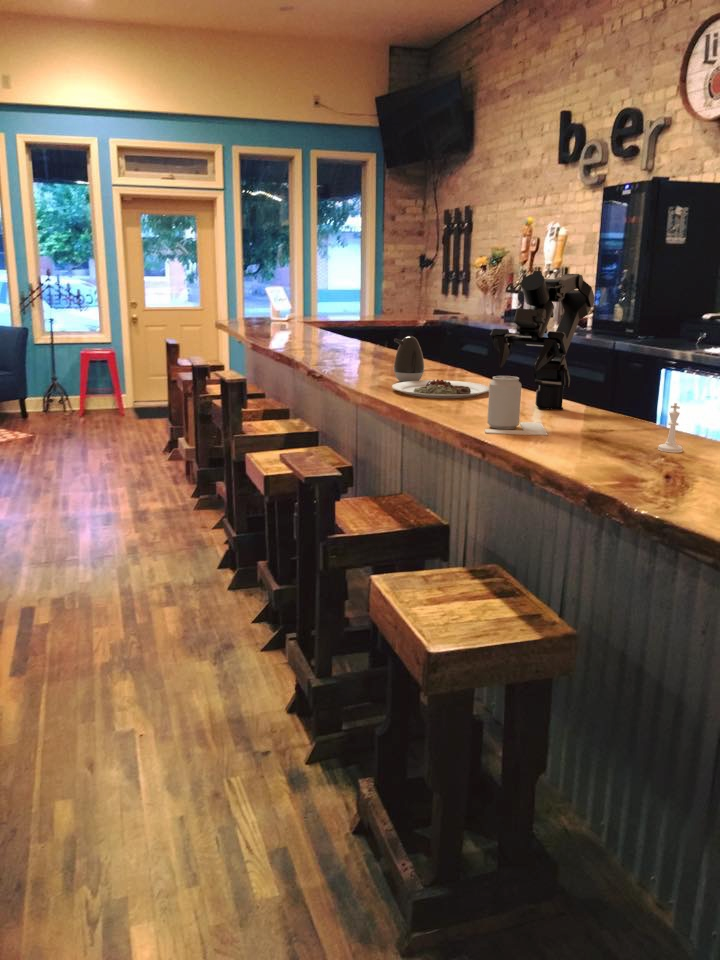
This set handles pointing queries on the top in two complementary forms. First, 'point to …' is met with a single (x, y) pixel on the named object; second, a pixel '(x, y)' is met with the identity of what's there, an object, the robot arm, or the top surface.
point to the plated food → (440, 388)
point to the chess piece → (672, 434)
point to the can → (504, 402)
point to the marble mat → (527, 428)
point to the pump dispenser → (408, 360)
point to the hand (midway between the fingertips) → (518, 367)
